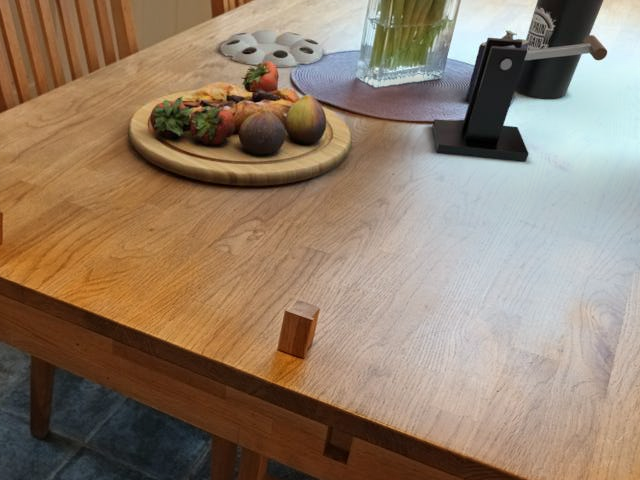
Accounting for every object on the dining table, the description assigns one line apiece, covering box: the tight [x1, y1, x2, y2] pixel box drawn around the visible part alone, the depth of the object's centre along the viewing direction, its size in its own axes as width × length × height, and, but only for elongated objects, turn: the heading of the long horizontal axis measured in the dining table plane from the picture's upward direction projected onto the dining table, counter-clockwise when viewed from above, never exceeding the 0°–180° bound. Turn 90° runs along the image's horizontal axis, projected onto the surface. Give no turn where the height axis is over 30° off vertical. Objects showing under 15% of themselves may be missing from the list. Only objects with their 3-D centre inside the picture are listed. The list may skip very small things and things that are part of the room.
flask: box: [464, 29, 529, 104], centre depth 116 cm, size 9×3×11 cm, turn 111°
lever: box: [503, 34, 608, 61], centre depth 96 cm, size 13×6×2 cm, turn 77°
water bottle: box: [514, 0, 604, 100], centre depth 116 cm, size 10×10×23 cm
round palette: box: [219, 30, 323, 68], centre depth 138 cm, size 20×20×2 cm
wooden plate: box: [127, 62, 353, 187], centre depth 102 cm, size 32×32×8 cm
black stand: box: [432, 37, 529, 162], centre depth 100 cm, size 12×10×14 cm
